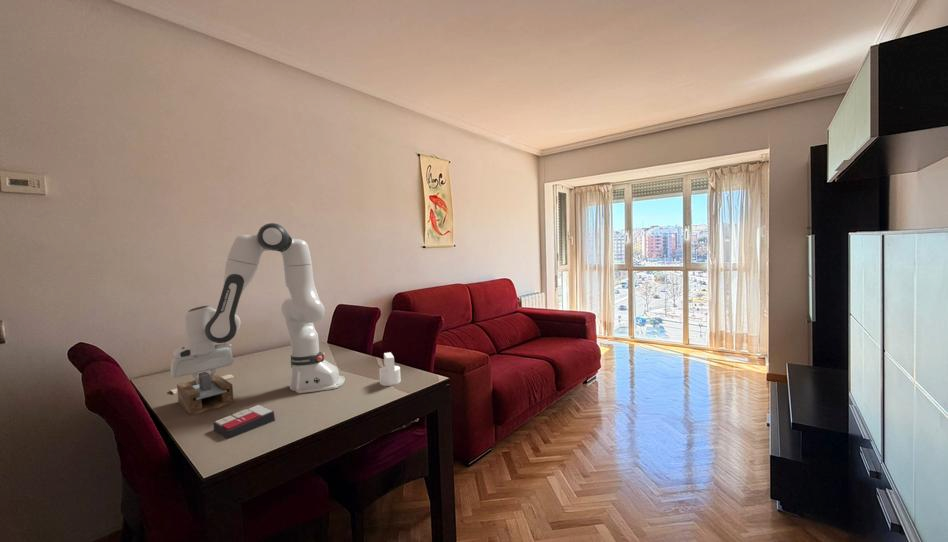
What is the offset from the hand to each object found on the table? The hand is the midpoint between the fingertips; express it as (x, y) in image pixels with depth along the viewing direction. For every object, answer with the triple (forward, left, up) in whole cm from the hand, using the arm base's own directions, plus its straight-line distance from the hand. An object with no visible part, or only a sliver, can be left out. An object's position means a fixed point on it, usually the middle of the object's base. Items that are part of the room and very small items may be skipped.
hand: (204, 382), depth 152 cm
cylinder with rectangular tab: (-70, -11, -9) cm, 72 cm away
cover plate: (0, 0, -4) cm, 4 cm away
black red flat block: (-26, +23, -9) cm, 36 cm away
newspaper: (+16, -24, -10) cm, 30 cm away
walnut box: (+1, 0, -9) cm, 9 cm away
